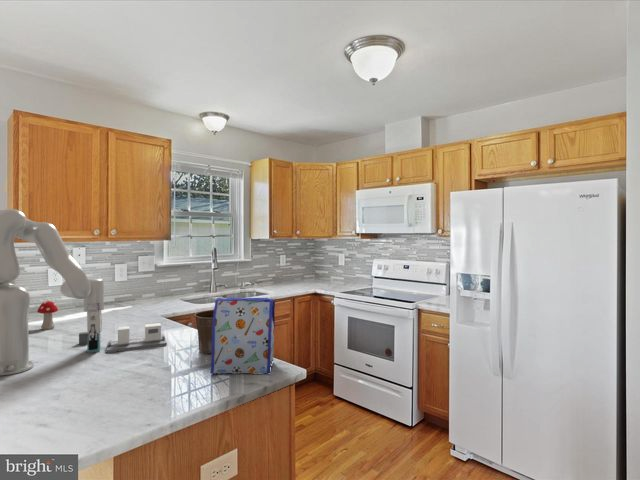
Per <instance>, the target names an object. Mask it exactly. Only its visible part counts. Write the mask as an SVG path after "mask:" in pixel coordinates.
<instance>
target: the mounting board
mask: <svg viewBox="0 0 640 480" xmlns="http://www.w3.org/2000/svg"><path fill="white" fill-rule="evenodd" d="M161 337H162V335H161ZM140 339H145V337H140V338H131V339H130V338H129V341H131V340H140ZM113 342H118V340H113V341H112V340H111V343H113ZM165 345H168V343H167V340H166V338H165V340H162V341H154V342H145V343H137V344H128V345H120V346H111V347H108V344H107V345H106V350H105V351H106V352H105V353H106V354H109V353H110V352H111V353H116V352H117V351H119V352H125V350H127V351H133V349H135V350H141V348H143V349H150V348H149V347H151V348H157V346H159V347H165Z"/></svg>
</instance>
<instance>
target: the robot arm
mask: <svg viewBox="0 0 640 480" xmlns="http://www.w3.org/2000/svg"><path fill="white" fill-rule="evenodd" d="M15 238H16V239H20V240H23V241H26V242H29V243H32V244H33V243H34V244H35V245H36V247H37V249H38V250H39V253H40V255H41V256H42V258H43V259H44V262H45V263H46V265H48V266H49V268H51V269H52V270H54V271H55V272H57V273H58V274H59V275H60V276H61V277H62V278H63V280H64V282H63V283H62V284H61V285H60V289H59V290H60V293H61V295H62V296H64V297H67V298H71V299H77V300H83V312H86V323H87V325H86V327H87V328H86V330H87V331H86V332H88V334H90V335H89V350H95V349H98V340H97V334H98V333H99V334H101V333H102V331H103V322H102V321H103V315H102V314H103V313H102V311H104V310H105V308H104V307H105V301H104V300H105V299H104V298H105V296H104V295H105V294H104V293H105V291H104V290H105V289H104V288H105V287H104V286H105V283H104V279H102V278H95V277H94V278H88V276H87V274H86V273H85V271H84V270H83V268H82V267H81V265H80V264H79V263H78V262H77V261H76V260H75V259H74V257H72V255H71V254H70V252H69V250H68V248H67V247H66V244H65V242H64V241H63V239H62V236H61V235H60V233H59V231H58V229H57V228H56V226H55V225H54V224H52V223H50V222H45V221H43V222H41V221H39V222H37V221H34V220H32V219H28V218H27V217H26V215H25V213H24V212H22V211H21V210H19V209H15V208H14V209H13V208H10V209H9V208H7V209H1V210H0V376H9V375H13V374H14V375H15V374H19V373H23V372H25V371H29V370H31V369H32V368H33V367H34V365H35V364H34V362H33V361H31V360H30V358H29V357H30V355H29V351H30V349H29V348H30V347H29V343H30V341H29V315H30V314H29V312H30V306H31V295H30V293H29V292H28V290H27V289H26V288H24V287H23V286H19V285H17V283H16V281H15V280H17V278H19V276H20V274H21V268H20V264H19V261H18V256H17V252H16V247H15ZM29 360H30V361H29Z"/></svg>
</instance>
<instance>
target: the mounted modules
mask: <svg viewBox="0 0 640 480" xmlns="http://www.w3.org/2000/svg"><path fill="white" fill-rule="evenodd" d="M161 336H162V324H161V323H160V322H159V323H158V322H157V323H146V324H144V338H145V341H152V340H161ZM129 340H130V325H126V326H118V328H117V341H118V344H126V343H129Z"/></svg>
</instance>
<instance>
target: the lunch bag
mask: <svg viewBox="0 0 640 480" xmlns="http://www.w3.org/2000/svg"><path fill="white" fill-rule="evenodd" d="M275 308H276V301H274V298H268V297H226V298H225V297H224V298H216V299H215V303H214V308H213V310H214V312H213V324H212V353H210V354H211V355H210V357H211V358H210V374H216V373H217V374H221V373H270V374H271V372H270V367H271V364H272V361H274V349H275V329H276V328H275V327H276V326H275V325H276V321H275V320H276V319H275V317H276V316H275V315H276V313H275ZM221 375H222V374H221Z"/></svg>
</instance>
